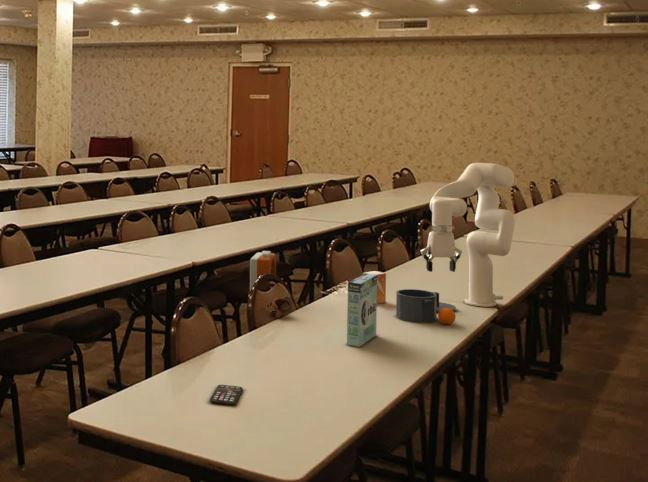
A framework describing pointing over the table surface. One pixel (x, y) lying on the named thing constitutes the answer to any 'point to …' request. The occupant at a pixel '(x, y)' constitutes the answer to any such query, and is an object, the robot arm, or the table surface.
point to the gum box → (361, 309)
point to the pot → (416, 305)
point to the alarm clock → (262, 265)
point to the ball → (446, 316)
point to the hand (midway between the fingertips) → (440, 271)
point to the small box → (380, 286)
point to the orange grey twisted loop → (278, 308)
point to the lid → (443, 304)
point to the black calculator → (226, 394)
